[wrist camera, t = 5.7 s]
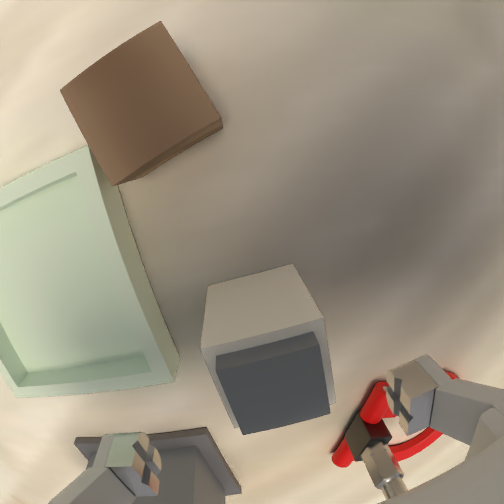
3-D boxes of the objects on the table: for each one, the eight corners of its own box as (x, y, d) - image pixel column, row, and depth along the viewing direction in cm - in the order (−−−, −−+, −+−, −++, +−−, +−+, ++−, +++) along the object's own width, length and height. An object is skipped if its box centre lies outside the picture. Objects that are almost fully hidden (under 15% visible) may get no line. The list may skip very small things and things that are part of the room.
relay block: (292, 263, 15) (330, 330, 9) (307, 335, 16) (342, 416, 10) (207, 285, 15) (198, 363, 9) (231, 354, 16) (235, 443, 10)
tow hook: (475, 365, 19) (376, 366, 17) (581, 480, 6) (502, 557, 4) (420, 447, 21) (322, 460, 20) (489, 560, 8) (379, 617, 7)
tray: (106, 145, 13) (88, 145, 11) (179, 356, 16) (174, 381, 14) (-40, 219, 13) (-63, 227, 11) (30, 378, 16) (16, 397, 14)
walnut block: (177, 54, 12) (160, 20, 8) (222, 128, 13) (220, 118, 9) (101, 104, 12) (59, 90, 8) (142, 176, 13) (112, 186, 9)
